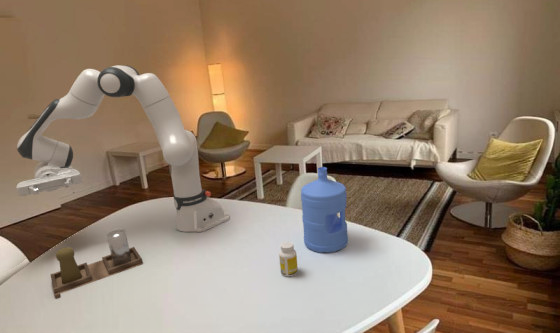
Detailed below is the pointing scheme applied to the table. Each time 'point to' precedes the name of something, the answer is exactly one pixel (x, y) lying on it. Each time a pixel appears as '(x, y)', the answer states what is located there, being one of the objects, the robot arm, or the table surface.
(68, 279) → the cork
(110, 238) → the steel cylinder
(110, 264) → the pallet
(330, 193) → the water jug
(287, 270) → the supplement bottle
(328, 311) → the table surface
